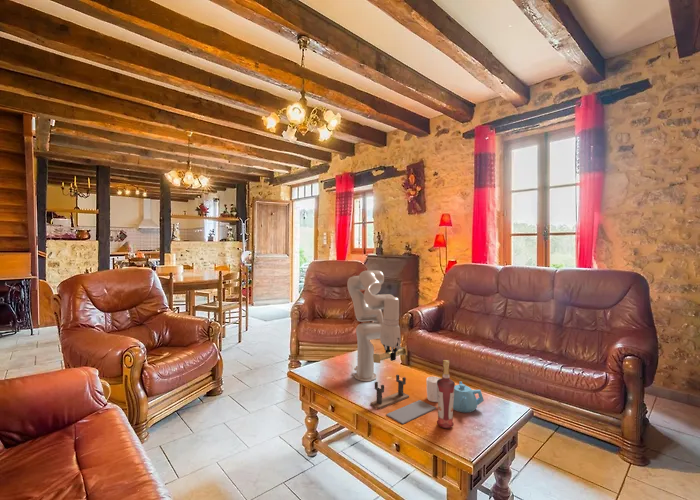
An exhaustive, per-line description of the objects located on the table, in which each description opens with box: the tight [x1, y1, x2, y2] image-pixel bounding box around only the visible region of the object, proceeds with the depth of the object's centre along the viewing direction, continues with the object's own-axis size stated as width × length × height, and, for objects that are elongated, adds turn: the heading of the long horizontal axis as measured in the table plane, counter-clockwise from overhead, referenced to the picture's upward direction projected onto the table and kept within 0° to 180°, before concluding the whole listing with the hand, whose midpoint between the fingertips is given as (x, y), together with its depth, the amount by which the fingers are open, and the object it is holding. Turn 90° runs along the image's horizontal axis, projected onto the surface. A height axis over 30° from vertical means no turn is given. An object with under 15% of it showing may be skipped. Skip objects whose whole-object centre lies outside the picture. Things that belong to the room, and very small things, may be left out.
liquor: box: [436, 359, 456, 430], centre depth 148 cm, size 7×7×28 cm
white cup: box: [425, 376, 441, 403], centre depth 173 cm, size 8×8×10 cm
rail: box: [373, 346, 408, 364], centre depth 171 cm, size 20×4×4 cm, turn 129°
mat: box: [386, 399, 437, 425], centre depth 160 cm, size 10×23×1 cm, turn 129°
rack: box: [369, 374, 410, 410], centre depth 171 cm, size 6×21×10 cm, turn 129°
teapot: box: [453, 381, 485, 414], centre depth 166 cm, size 15×15×11 cm
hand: (390, 358), depth 171 cm, fingers closed on rail, 2 cm apart
